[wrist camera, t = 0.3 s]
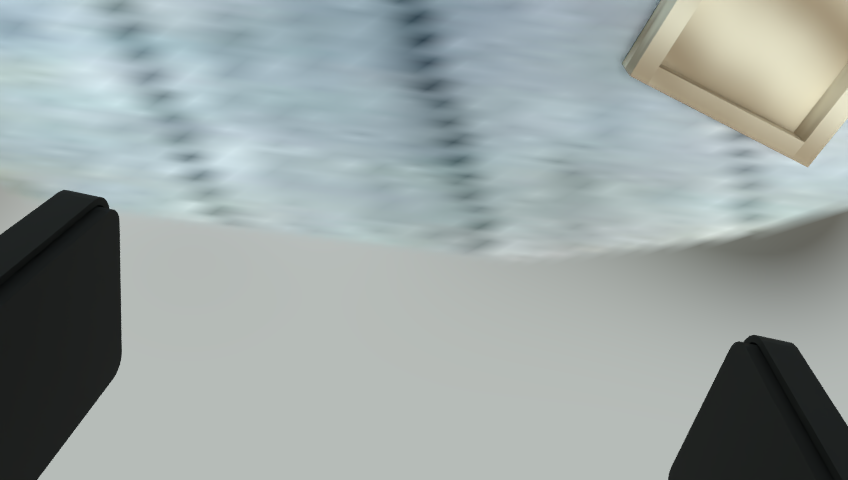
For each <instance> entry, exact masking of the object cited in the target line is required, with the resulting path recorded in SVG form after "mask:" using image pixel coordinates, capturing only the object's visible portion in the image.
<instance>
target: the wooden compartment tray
mask: <svg viewBox="0 0 848 480" xmlns="http://www.w3.org/2000/svg"><path fill="white" fill-rule="evenodd" d="M622 65H623V66H624V68H625V69H626V71H627V72H628V74H629V75H630V76H631V77H633V78H635V79H637V80H639V81H641V82H643V83H645V84H647V85H649V86H651V87H652V88H654V89H656V90H658V91H660V92H662V93H664V94H666V95H668V96H670V97H672V98H674V99H676V100H678V101H680V102H682V103H684V104H686V105H688V106H689V107H691V108H693V109H695V110H697V111H699V112H701V113H703V114H705V115H707V116H709V117H711V118H713V119H715V120H717V121H719V122H721V123H723V124H725V125H726V126H728V127H730V128H732V129H734V130H736V131H738V132H740V133H742V134H744V135H746V136H748V137H750V138H752V139H754V140H756V141H758V142H760V143H762V144H763V145H765V146H767V147H769V148H771V149H773V150H775V151H777V152H779V153H781V154H783V155H785V156H787V157H789V158H791V159H793V160H795V161H797V162H799V163H800V164H802V165H804V166H806V167H808V166H809V165H810V164H811V163H812V161H813V160H814V159H815V158H816V157H817V155H818V154H819V153H820V152H821V150H822V149H823V148H824V147H825V145H826V144H827V143H828V142H829V140H830V139H831V138H832V137H833V136H834V134H835V133H836V132H837V131H838V129H839V128H840V127H841V126H842V124H843V123H844V122H845V121H846V119H847V118H848V0H661V1H660V3H659V4H658V6H657V7H656V9H655V11H654V12H653V14H652V16H651V17H650V19H649V20H648V22H647V24H646V25H645V27H644V29H643V30H642V32H641V33H640V35H639V37H638V38H637V40H636V42H635V43H634V45H633V46H632V48H631V50H630V51H629V53H628V55H627V56H626V58H625V59H624V61H623V63H622Z"/></svg>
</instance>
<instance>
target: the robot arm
mask: <svg viewBox="0 0 848 480" xmlns="http://www.w3.org/2000/svg"><path fill="white" fill-rule="evenodd" d="M119 230H120V229H119V216H118V213H117V212H116V211H115V210H112V209H109V205H108V203H107V201H106V200H105V199H104V198H102V197H97V196H92V195H87V194H83V193H78V192H73V191H68V190H62V191H60V192H58V193H57V194H56V195H54V196H53V197H51V198H50V199H49V200H47V201H46V202H45V203H43V204H42V205H40V206H39V207H38V208H36V209H35V210H34V211H32V212H31V213H30V214H28V215H27V216H25V217H24V218H23V219H22V220H20V221H19V222H17V223H16V224H14V225H13V226H12V227H10V228H9V229H8V230H6V231H5V232H4V233H2V234H1V235H0V480H37V479H38V478H39V476H40V475H41V474H42V472H43V471H44V470H45V469H46V467H47V466H48V465H49V463H50V462H51V460H52V459H53V458H54V457H55V455H56V454H57V453H58V451H59V450H60V449H61V447H62V446H63V445H64V443H65V442H66V441H67V439H68V438H69V437H70V435H71V434H72V433H73V431H74V430H75V429H76V427H77V426H78V424H79V423H80V422H81V421H82V419H83V418H84V417H85V415H86V414H87V413H88V411H89V410H90V409H91V407H92V406H93V405H94V403H95V402H96V401H97V399H98V398H99V397H100V395H101V394H102V393H103V392H104V390H105V389H106V387H107V386H108V385H109V383H110V382H111V381H112V380H113V378H114V376H115V375H116V373H117V371H118V368H119V365H120V361H121V354H122V345H121V288H120V287H121V286H120V231H119ZM668 480H848V426H847V424H846V423H845V421H844V420H843V418H842V417H841V415H840V414H839V412H838V410H837V409H836V407H835V406H834V404H833V403H832V401H831V400H830V398H829V397H828V395H827V394H826V392H825V390H824V389H823V387H822V386H821V384H820V382H819V381H818V379H817V378H816V376H815V375H814V373H813V372H812V370H811V369H810V367H809V365H808V364H807V362H806V361H805V359H804V358H803V356H802V355H801V353H800V351H799V350H798V348H797V347H796V346H795V345H794V344H792V343H790V342H785V341H780V340H776V339H771V338H766V337H762V336H757V335H752V336H749V337H748V338H747V339H746V340H745V341H744V342H735V343H734V344H733V345H732V347H731V348H730V350H729V352H728V354H727V356H726V358H725V360H724V362H723V364H722V366H721V368H720V370H719V372H718V374H717V376H716V378H715V380H714V382H713V384H712V386H711V388H710V390H709V392H708V394H707V396H706V398H705V400H704V402H703V404H702V406H701V408H700V411H699V412H698V414H697V417H696V418H695V420H694V422H693V425H692V427H691V428H690V430H689V433H688V435H687V437H686V439H685V441H684V443H683V445H682V447H681V449H680V451H679V453H678V455H677V457H676V459H675V461H674V463H673V465H672V467H671V470H670V473H669V477H668Z"/></svg>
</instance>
